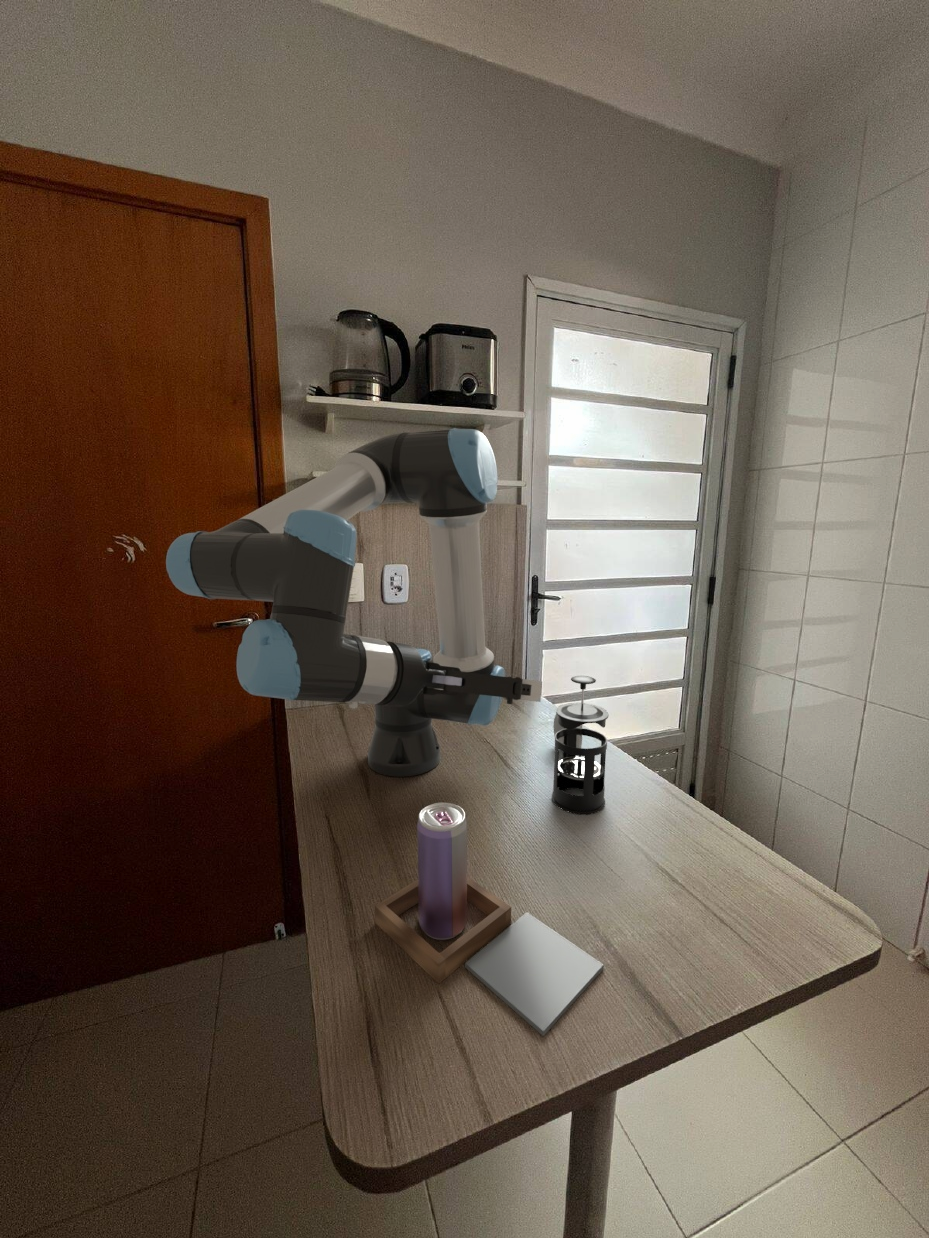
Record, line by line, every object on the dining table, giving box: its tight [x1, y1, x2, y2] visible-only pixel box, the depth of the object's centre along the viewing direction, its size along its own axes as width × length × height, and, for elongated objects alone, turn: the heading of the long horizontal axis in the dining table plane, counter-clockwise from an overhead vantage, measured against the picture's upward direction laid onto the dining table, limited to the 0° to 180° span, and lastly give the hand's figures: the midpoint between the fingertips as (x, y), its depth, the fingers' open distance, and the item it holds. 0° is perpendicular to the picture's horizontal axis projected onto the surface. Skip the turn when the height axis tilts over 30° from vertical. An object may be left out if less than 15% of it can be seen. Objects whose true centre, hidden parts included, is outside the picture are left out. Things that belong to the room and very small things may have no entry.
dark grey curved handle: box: [553, 714, 580, 753], centre depth 110 cm, size 10×4×10 cm, turn 13°
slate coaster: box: [464, 911, 604, 1037], centre depth 58 cm, size 11×11×1 cm
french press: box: [551, 675, 609, 815], centre depth 91 cm, size 12×9×23 cm
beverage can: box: [416, 802, 468, 941], centre depth 63 cm, size 6×6×15 cm
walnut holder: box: [374, 875, 512, 984], centre depth 64 cm, size 12×12×2 cm
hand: (501, 687), depth 74 cm, fingers open, 13 cm apart
